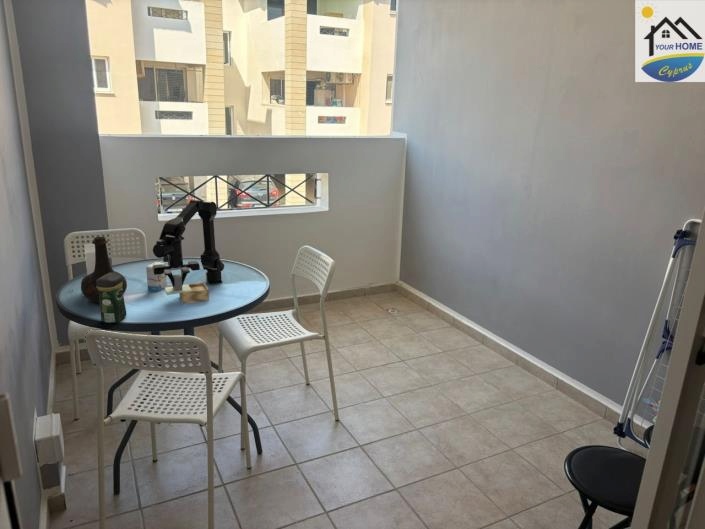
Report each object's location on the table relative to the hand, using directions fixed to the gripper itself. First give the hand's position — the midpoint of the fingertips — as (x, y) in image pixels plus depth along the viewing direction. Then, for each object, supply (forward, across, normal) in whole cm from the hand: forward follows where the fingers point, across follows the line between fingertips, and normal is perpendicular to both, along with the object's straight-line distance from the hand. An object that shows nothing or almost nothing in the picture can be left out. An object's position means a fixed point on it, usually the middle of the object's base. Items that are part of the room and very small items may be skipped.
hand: (177, 286), depth 223 cm
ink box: (+7, +6, -19) cm, 21 cm away
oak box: (+6, -7, 0) cm, 9 cm away
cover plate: (+2, 0, 0) cm, 2 cm away
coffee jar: (+7, +26, +11) cm, 29 cm away
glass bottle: (+7, +28, -13) cm, 32 cm away
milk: (+7, +31, -27) cm, 42 cm away
